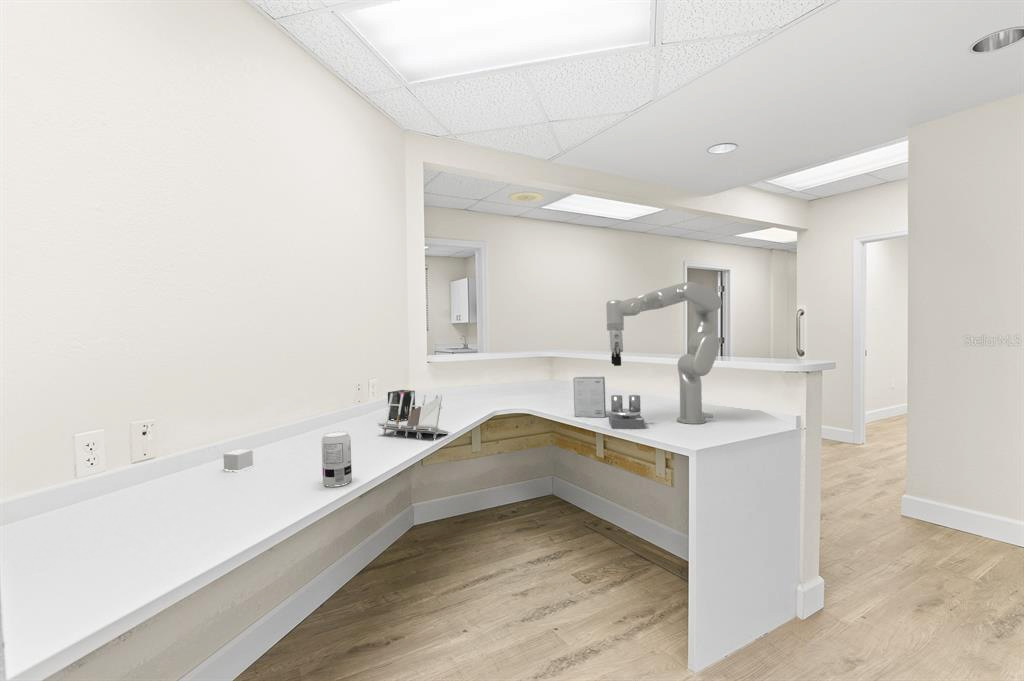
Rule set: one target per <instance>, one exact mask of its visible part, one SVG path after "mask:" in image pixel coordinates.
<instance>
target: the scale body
mask: <svg viewBox="0 0 1024 681" xmlns="http://www.w3.org/2000/svg"><path fill="white" fill-rule="evenodd" d="M608 423H609V426H610V428H611V429H612V430H644V429H645V419H644V418H643V417H642V415H641V414H640V415H636V416H629V417H622V416H618V415H613V414H611V413H609V414H608Z"/></svg>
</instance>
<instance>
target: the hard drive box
mask: <svg viewBox="0 0 1024 681" xmlns="http://www.w3.org/2000/svg"><path fill="white" fill-rule="evenodd" d="M605 379H606V378H605V376H574V377H573V402H574V403H573V404H574V407H573V408H574V409H573V410H574V417H575V416H577V418H605V417H606V416H607V409H606V385H605V384H606V383H605V382H606V380H605Z"/></svg>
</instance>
